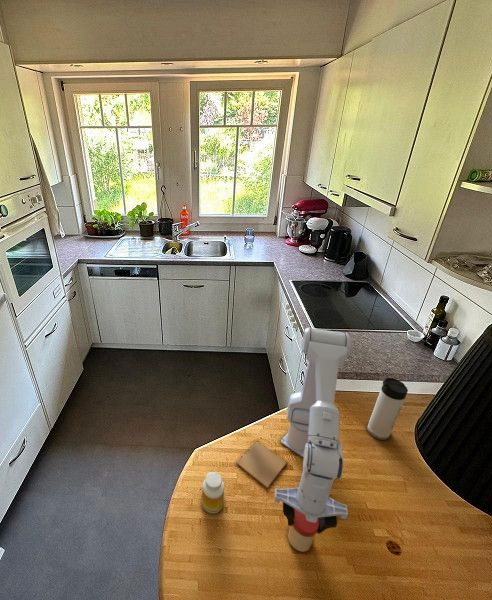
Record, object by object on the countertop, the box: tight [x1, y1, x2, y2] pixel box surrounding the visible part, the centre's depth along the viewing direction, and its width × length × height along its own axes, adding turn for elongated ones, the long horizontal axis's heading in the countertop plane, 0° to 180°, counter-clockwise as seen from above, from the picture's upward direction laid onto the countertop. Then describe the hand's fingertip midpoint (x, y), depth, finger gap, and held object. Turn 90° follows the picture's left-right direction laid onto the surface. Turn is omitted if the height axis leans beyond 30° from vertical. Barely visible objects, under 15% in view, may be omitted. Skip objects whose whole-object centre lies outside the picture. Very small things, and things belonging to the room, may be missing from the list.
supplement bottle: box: [201, 471, 225, 514], centre depth 80 cm, size 5×5×10 cm
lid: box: [292, 509, 319, 537], centre depth 72 cm, size 6×6×2 cm
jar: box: [287, 525, 315, 552], centre depth 73 cm, size 5×5×8 cm
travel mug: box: [366, 377, 409, 441], centre depth 97 cm, size 6×7×20 cm
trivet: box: [236, 441, 287, 489], centre depth 92 cm, size 10×10×1 cm
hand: (303, 524), depth 73 cm, fingers closed on lid, 5 cm apart
